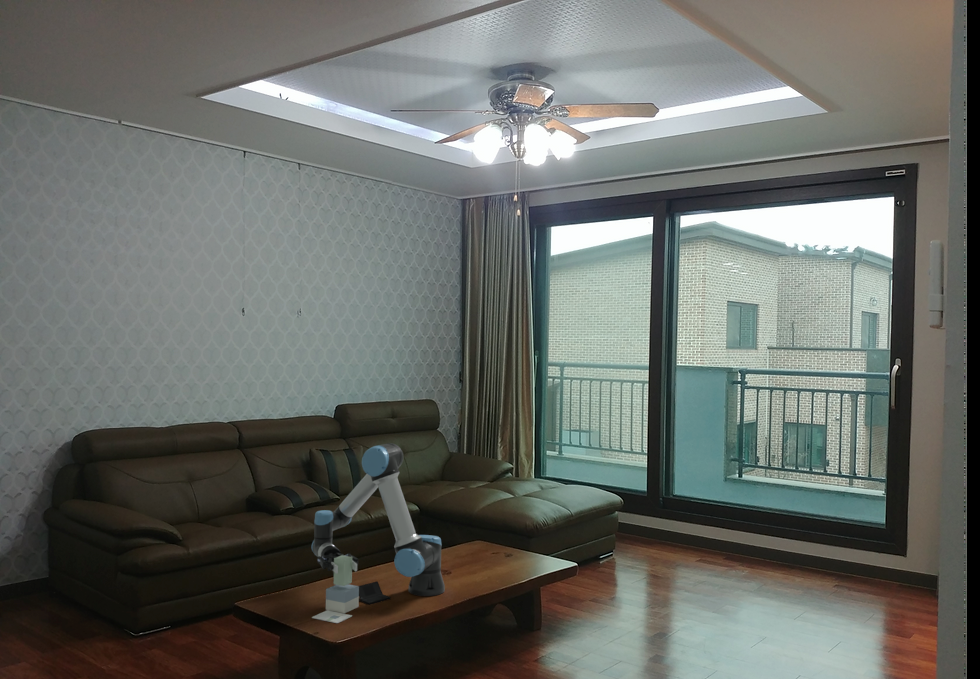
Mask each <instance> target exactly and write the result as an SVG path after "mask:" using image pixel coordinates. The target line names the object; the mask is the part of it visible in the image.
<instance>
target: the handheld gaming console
mask: <svg viewBox="0 0 980 679" xmlns="http://www.w3.org/2000/svg"><path fill="white" fill-rule="evenodd" d="M358 586H359V601H360V603H364V604H365V605H369V606H371V605H374V604H377V603H381V601H382V602H385V601H388V600H391V596H389V595H386V594H383V591H382V589H381V586H380V584H379V582H378V581H373V582H368V583H365V584H361V585H358Z"/></svg>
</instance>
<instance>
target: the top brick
mask: <svg viewBox="0 0 980 679" xmlns="http://www.w3.org/2000/svg"><path fill="white" fill-rule="evenodd" d="M343 555H344V554H343ZM343 555H342V556H339V557H336V558H334V563H335V564H336V565H337V566H338V573H337V574H336V573H335V572H334V571H333V585H341V586H345V585H348V584H349V585H351V583H353V582H352V581H353V569H352V557H349V556H345V555H344V556H343Z"/></svg>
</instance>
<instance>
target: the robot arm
mask: <svg viewBox="0 0 980 679" xmlns="http://www.w3.org/2000/svg"><path fill="white" fill-rule="evenodd" d="M403 463H404V452H403V450H402V449H401V447H400V446H399V445H398V444H395V443H393V442H392V443H391V442H387V443H383V444H379V445H373V446H372V447H369V448H368V449H366V450H365V451H364V453H363V455H362V458H361V466H362V470H363V472H364V473H365V475H364V477H363V478H361V480H360V481H358V483H357V484H356V486H354V487H353V489H352V490H351V491H350V492H349V493H348V494H347V496H346V497H345V498H344V499H343V501H342V502H341V503H340V504H339V506H337V508H335V510H333V511H332V510H328V509H326V510H325V509H324V510H317V511H316V512H315V514H314V520H313V522H314V533H313V535H314V536H313V537H314V538H313V540H312V543H311V552H313V554H314V556H316V557H317V564H318V565H320V567H321V568H322V569H323V570H326V569H327V571H328V572H330V571H332V572H333V573H334V572H335V573H336V574H337V573H338V566H337V565H336V564H335V563H334V558H336V557H339V556H342V555H343V556H349V557H352V571H354V572H357V571H358V566H359V558H358V557H356V556H354V555H352V554H351V553H347V554H345V555H344V553H341V550H340V549H339V548H338V547H337V546H335V545H334V544H333V535H334V534H333V532H334V531H336V530H338V529H339V530H340V529H341V528H345V527H346V526H347V525H349V524H350V523H351V522H352V518H353V517H354V515H355V514H356V513H357V512H358V511H359V510H360V508H362V506H363V505H364V504H365V503H366V502H367V501H368V500H369V498H370V497H371V496H372V495H373V494H374V493H375V492H376V491H377V489H378V491H379V494H380V497H381V500H382V502H383V503H382V504H383V505H384V510H385V513H386V515H387V517H388V520H389V521H388V522H389V524H390V528H391V530H392V533H393V535H394V538H395V539H394V540H395V543H394V546H393V547H394V551H395V556H394V561H393V562H394V568H395V569H396V571H397V572H398V573H399V574H400V575H402V576H404V577H407V578H410V580H409V584H408V593H410V594H411V595H415V596H419V597H433V596H439V595H442V594H443V593H445V592H446V590H445V589H446V588H445V587H446V586H445V582H444V578H443V574H442V571H441V570H442V569H441V568H442V545H443V544H442V539H441V537H439V536H438V535H429V534H418V533H416V532H417V531H416V529H415V526H414V523H413V521H412V517H411V514H410V512H409V509H408V508H409V507H408V505H407V502H406V500H405V496H404V493H403V491H402V487H401V484H400V482H399V478H398V477H399V475H400V469H399V468H400V467H401V465H402V464H403Z"/></svg>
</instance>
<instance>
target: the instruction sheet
mask: <svg viewBox="0 0 980 679" xmlns="http://www.w3.org/2000/svg"><path fill="white" fill-rule="evenodd" d="M351 617H353V615H352V614H346V613H339V612H335V611H330V610H324V611H323V612H320V613H318V614H316V615H313V616H311V619H315V620H319V621H325V622H330V623H335V624H339V623H341V622H344V621H346V620H347V619H349V618H351Z"/></svg>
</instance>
